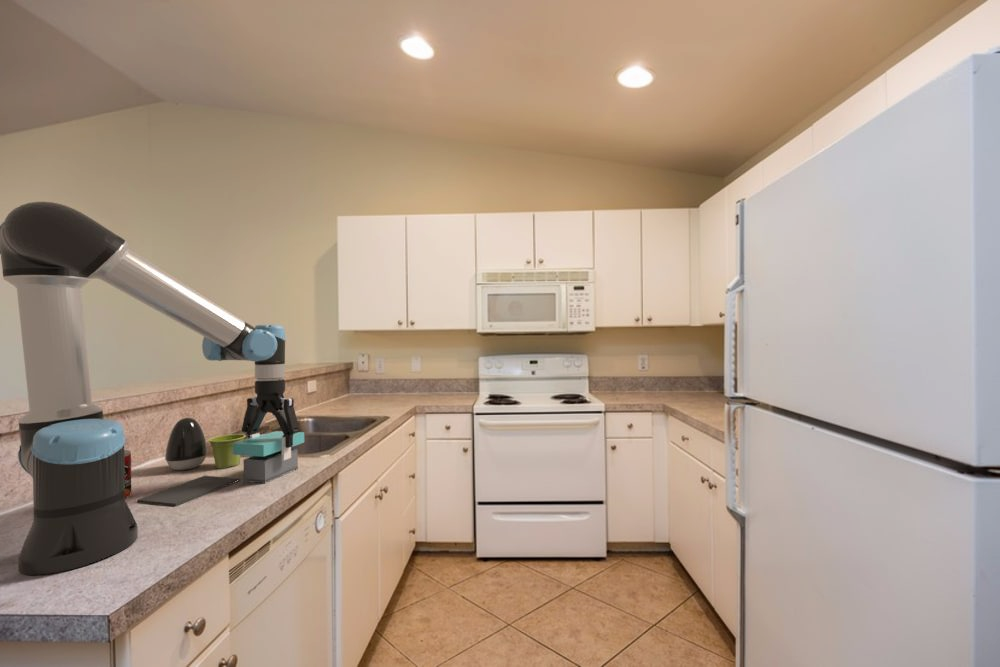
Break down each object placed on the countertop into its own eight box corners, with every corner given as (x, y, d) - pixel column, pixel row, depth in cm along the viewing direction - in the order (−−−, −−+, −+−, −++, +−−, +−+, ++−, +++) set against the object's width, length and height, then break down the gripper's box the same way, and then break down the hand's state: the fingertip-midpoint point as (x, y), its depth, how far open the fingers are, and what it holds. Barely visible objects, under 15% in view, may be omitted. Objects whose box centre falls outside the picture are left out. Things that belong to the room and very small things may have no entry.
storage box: (297, 468, 119) (297, 448, 119) (265, 483, 108) (264, 460, 108) (278, 467, 121) (277, 447, 121) (243, 481, 109) (243, 459, 109)
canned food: (105, 506, 95) (104, 459, 95) (79, 504, 96) (78, 458, 97) (140, 493, 102) (139, 450, 102) (115, 491, 104) (114, 449, 104)
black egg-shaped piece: (206, 460, 130) (205, 413, 130) (209, 467, 122) (208, 417, 122) (165, 467, 124) (164, 417, 124) (165, 475, 116) (164, 422, 116)
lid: (304, 442, 120) (304, 432, 120) (263, 456, 106) (263, 445, 106) (276, 440, 123) (276, 431, 123) (232, 454, 108) (232, 443, 108)
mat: (176, 506, 94) (176, 503, 94) (137, 502, 97) (137, 499, 97) (239, 480, 110) (239, 478, 110) (204, 477, 113) (204, 475, 113)
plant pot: (220, 461, 128) (219, 434, 128) (251, 460, 129) (251, 433, 129) (202, 471, 119) (201, 442, 119) (236, 469, 120) (235, 440, 120)
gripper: (313, 378, 115) (313, 456, 115) (248, 377, 121) (248, 452, 120) (294, 380, 108) (294, 464, 108) (226, 380, 114) (226, 459, 113)
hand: (270, 457), depth 114 cm, fingers closed on lid, 10 cm apart
